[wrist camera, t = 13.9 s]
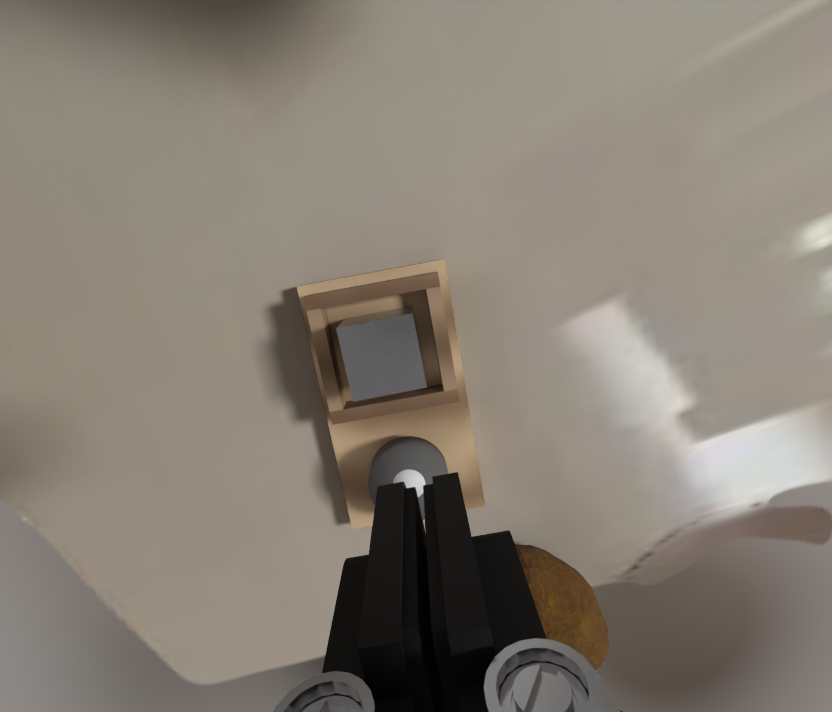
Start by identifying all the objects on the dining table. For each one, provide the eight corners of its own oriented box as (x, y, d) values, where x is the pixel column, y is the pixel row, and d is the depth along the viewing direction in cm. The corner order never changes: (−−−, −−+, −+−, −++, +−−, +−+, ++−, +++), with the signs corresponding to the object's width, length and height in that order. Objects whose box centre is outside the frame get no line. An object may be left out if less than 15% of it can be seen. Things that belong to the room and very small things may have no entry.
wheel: (363, 443, 36) (360, 454, 34) (440, 429, 36) (442, 439, 34) (378, 514, 38) (376, 528, 36) (453, 500, 37) (455, 514, 35)
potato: (516, 508, 41) (542, 565, 33) (617, 589, 42) (663, 661, 35) (453, 573, 42) (464, 643, 34) (554, 649, 44) (586, 732, 36)
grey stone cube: (345, 318, 35) (336, 328, 30) (411, 305, 35) (412, 313, 30) (359, 382, 36) (352, 401, 31) (423, 370, 36) (427, 387, 31)
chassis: (300, 285, 36) (290, 288, 33) (442, 259, 36) (446, 259, 33) (354, 519, 40) (349, 543, 37) (481, 496, 40) (489, 519, 37)
